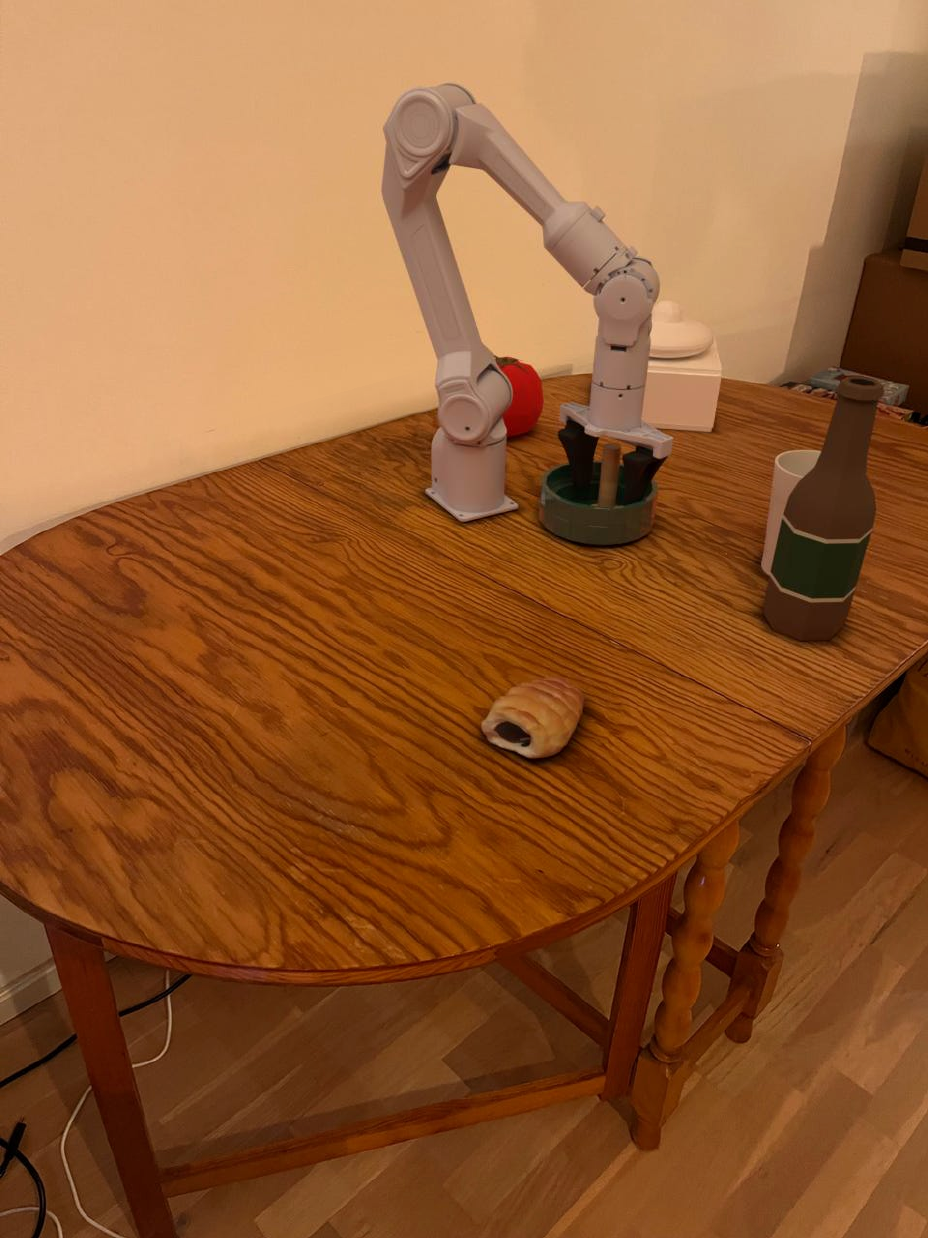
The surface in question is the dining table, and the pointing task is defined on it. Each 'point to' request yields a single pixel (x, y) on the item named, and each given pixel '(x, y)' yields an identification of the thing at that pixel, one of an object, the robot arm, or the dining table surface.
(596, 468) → the bowl
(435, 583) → the dining table surface
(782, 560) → the beer bottle
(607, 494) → the peg on round base
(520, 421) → the tomato
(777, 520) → the cup
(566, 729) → the pastry
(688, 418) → the butter dish
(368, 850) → the dining table surface
